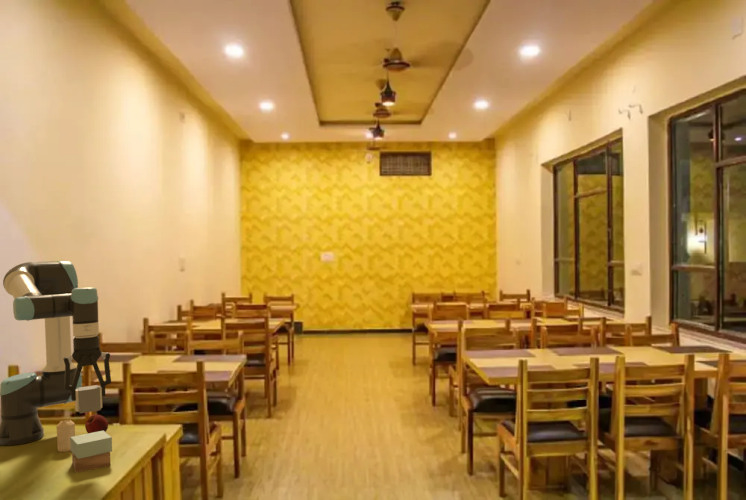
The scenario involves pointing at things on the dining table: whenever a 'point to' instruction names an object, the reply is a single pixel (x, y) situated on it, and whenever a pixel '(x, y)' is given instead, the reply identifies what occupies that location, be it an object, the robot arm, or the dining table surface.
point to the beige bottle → (65, 435)
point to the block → (89, 399)
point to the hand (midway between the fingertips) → (89, 408)
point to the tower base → (91, 462)
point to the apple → (96, 424)
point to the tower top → (91, 444)
